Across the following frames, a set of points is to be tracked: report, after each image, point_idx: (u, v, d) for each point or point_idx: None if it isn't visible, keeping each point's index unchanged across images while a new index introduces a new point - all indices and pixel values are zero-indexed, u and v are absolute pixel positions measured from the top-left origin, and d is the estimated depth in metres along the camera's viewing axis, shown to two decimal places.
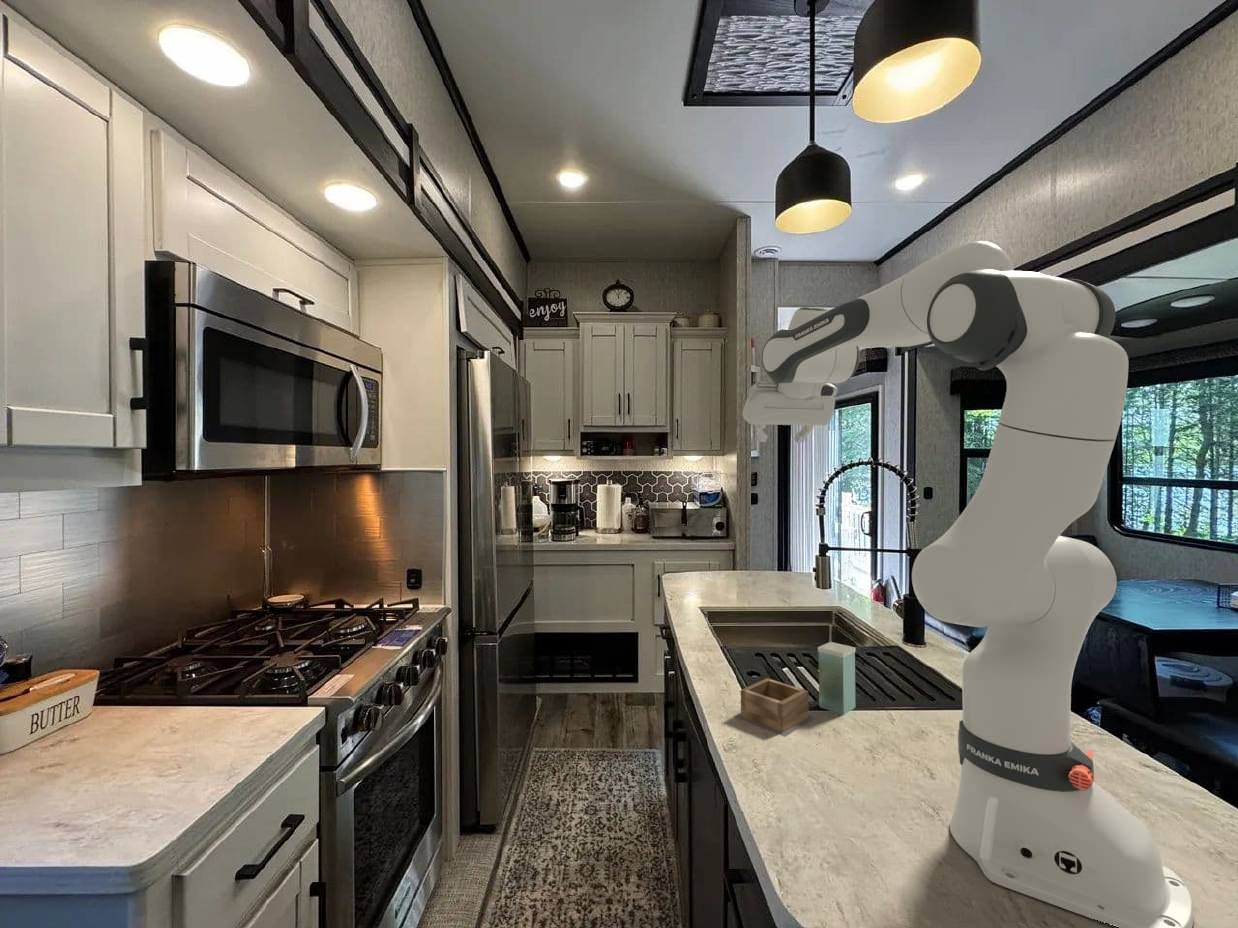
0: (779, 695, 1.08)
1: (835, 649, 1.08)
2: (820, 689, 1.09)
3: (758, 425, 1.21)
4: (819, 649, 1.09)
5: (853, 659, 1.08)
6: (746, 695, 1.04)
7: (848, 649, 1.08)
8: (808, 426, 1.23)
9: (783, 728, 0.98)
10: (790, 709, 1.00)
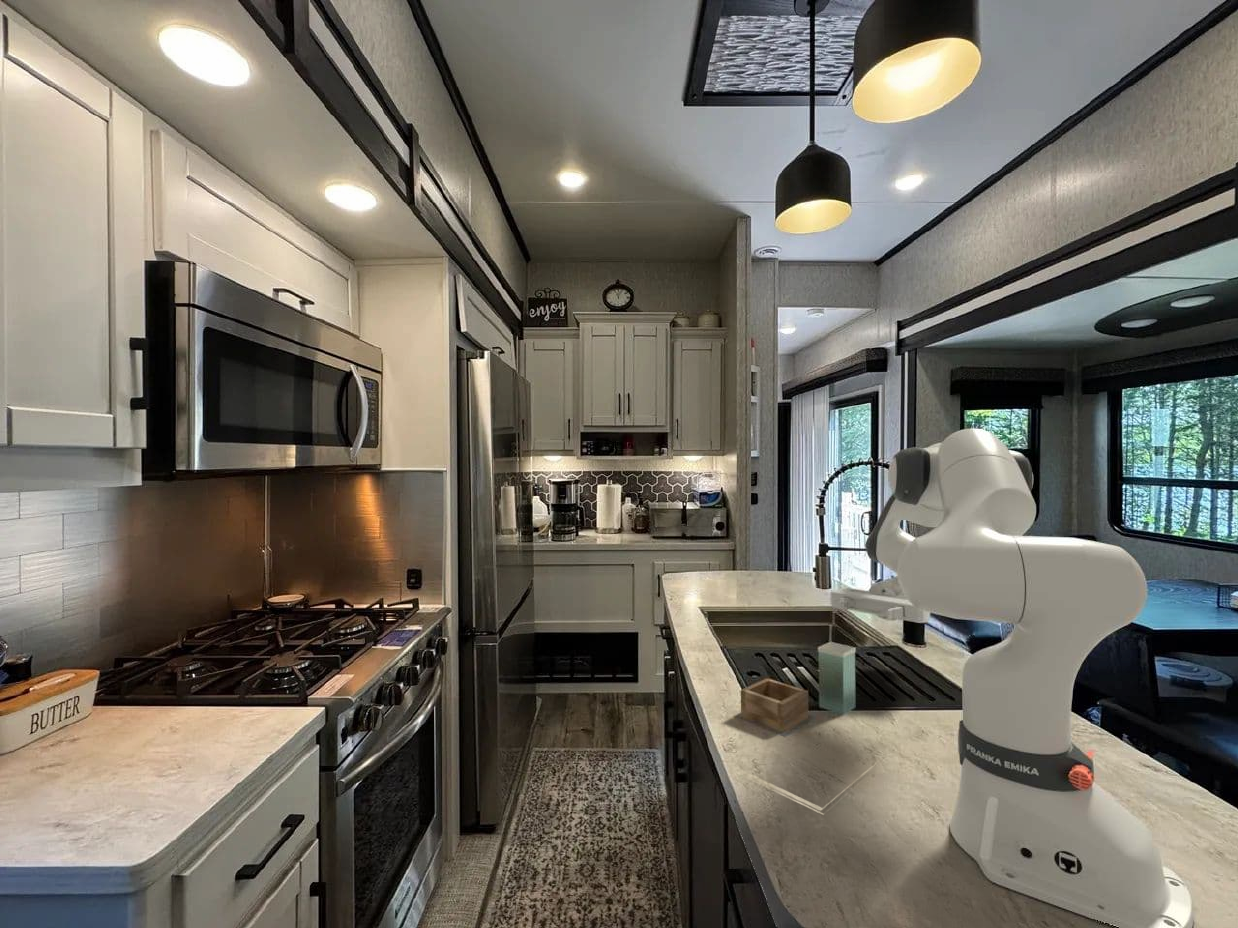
0: (779, 695, 1.08)
1: (835, 649, 1.08)
2: (820, 689, 1.09)
3: None
4: (819, 649, 1.09)
5: (853, 659, 1.08)
6: (746, 695, 1.04)
7: (848, 649, 1.08)
8: (897, 606, 1.16)
9: (783, 728, 0.98)
10: (790, 709, 1.00)
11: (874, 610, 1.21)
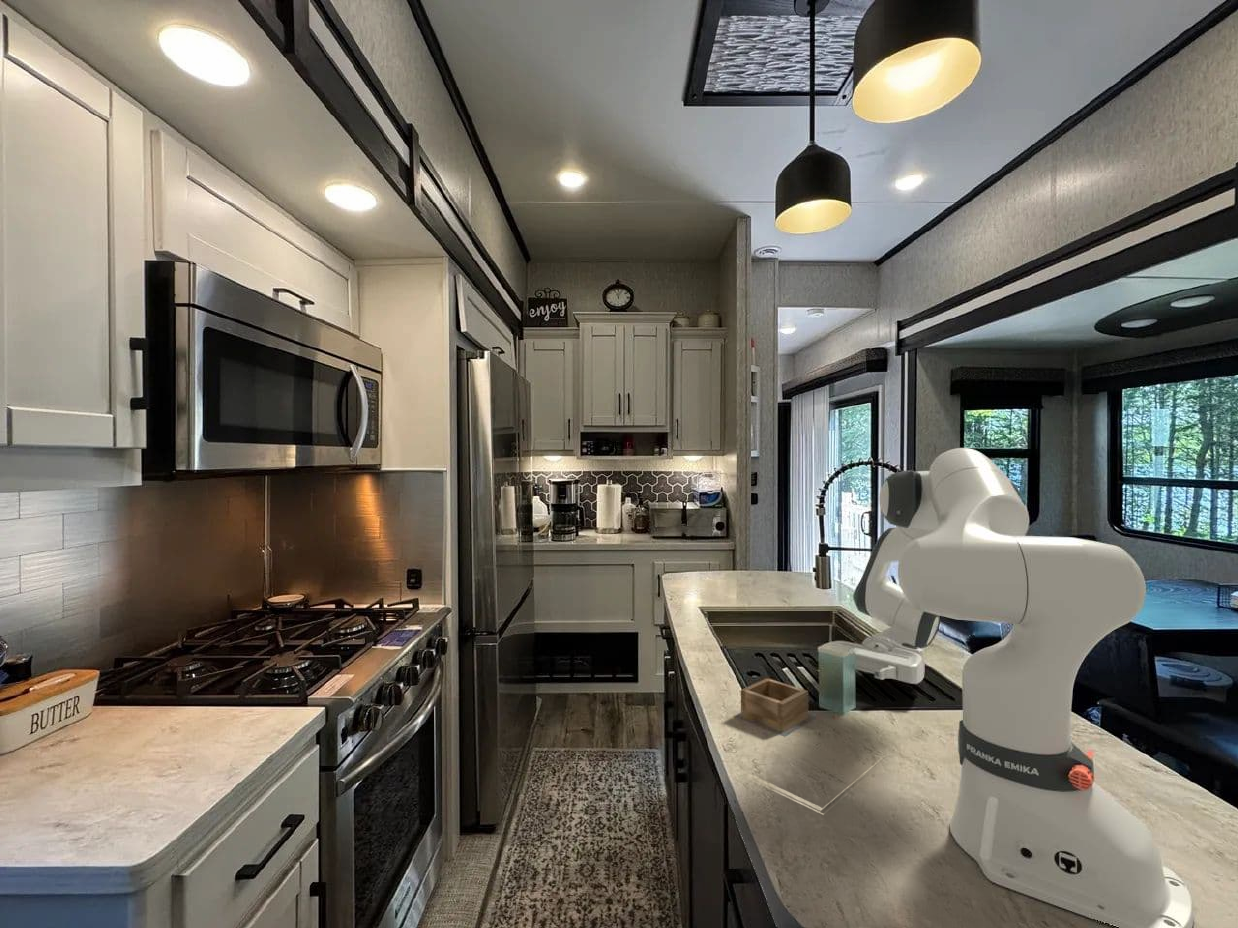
0: (779, 695, 1.08)
1: (835, 649, 1.08)
2: (820, 689, 1.09)
3: None
4: (819, 649, 1.09)
5: (853, 659, 1.08)
6: (746, 695, 1.04)
7: (848, 649, 1.08)
8: (889, 665, 1.12)
9: (783, 728, 0.98)
10: (790, 709, 1.00)
11: (866, 667, 1.17)
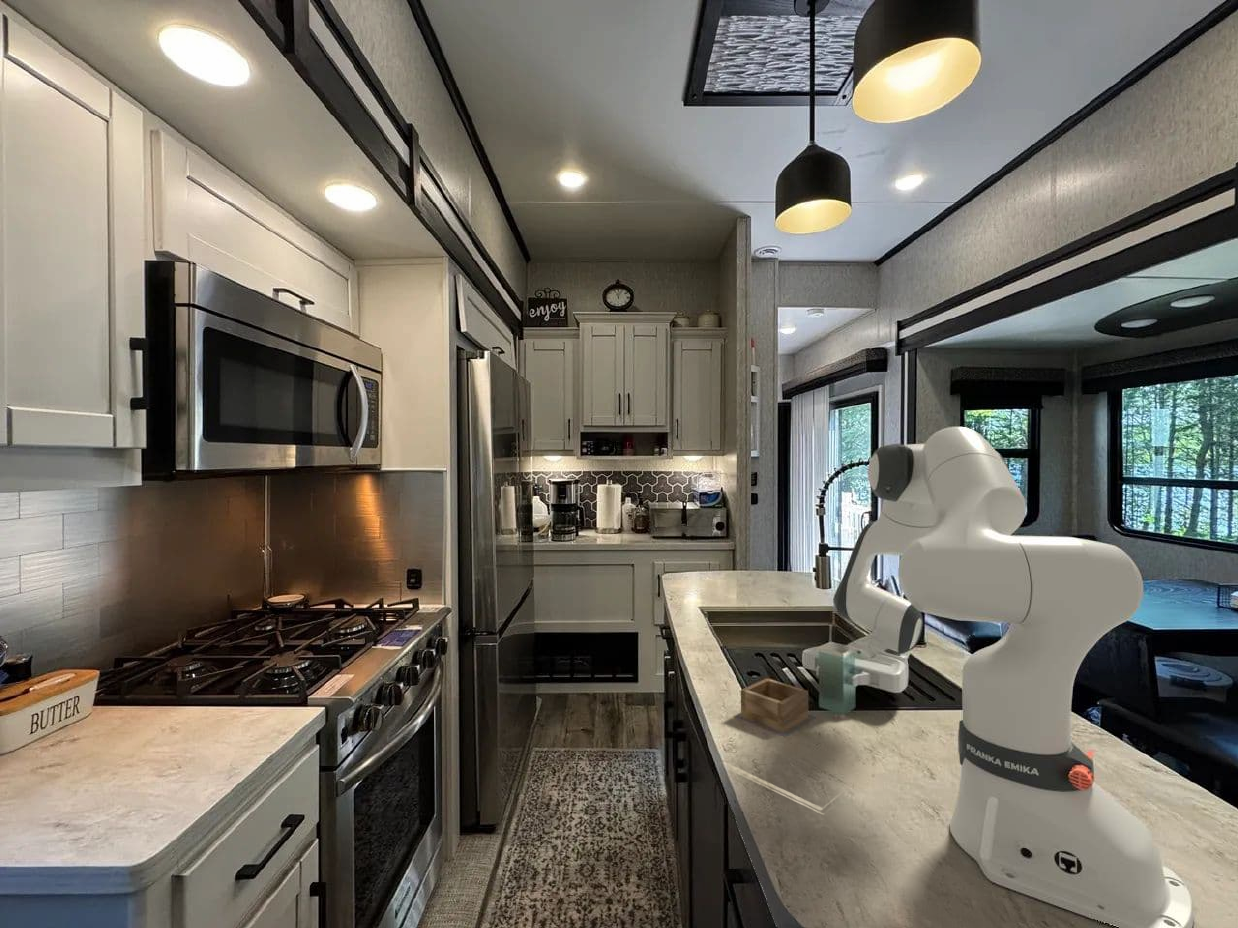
0: (779, 695, 1.08)
1: (835, 649, 1.08)
2: (820, 689, 1.09)
3: None
4: (819, 649, 1.09)
5: (853, 659, 1.08)
6: (746, 695, 1.04)
7: (847, 649, 1.08)
8: (863, 671, 1.08)
9: (783, 728, 0.98)
10: (790, 709, 1.00)
11: None
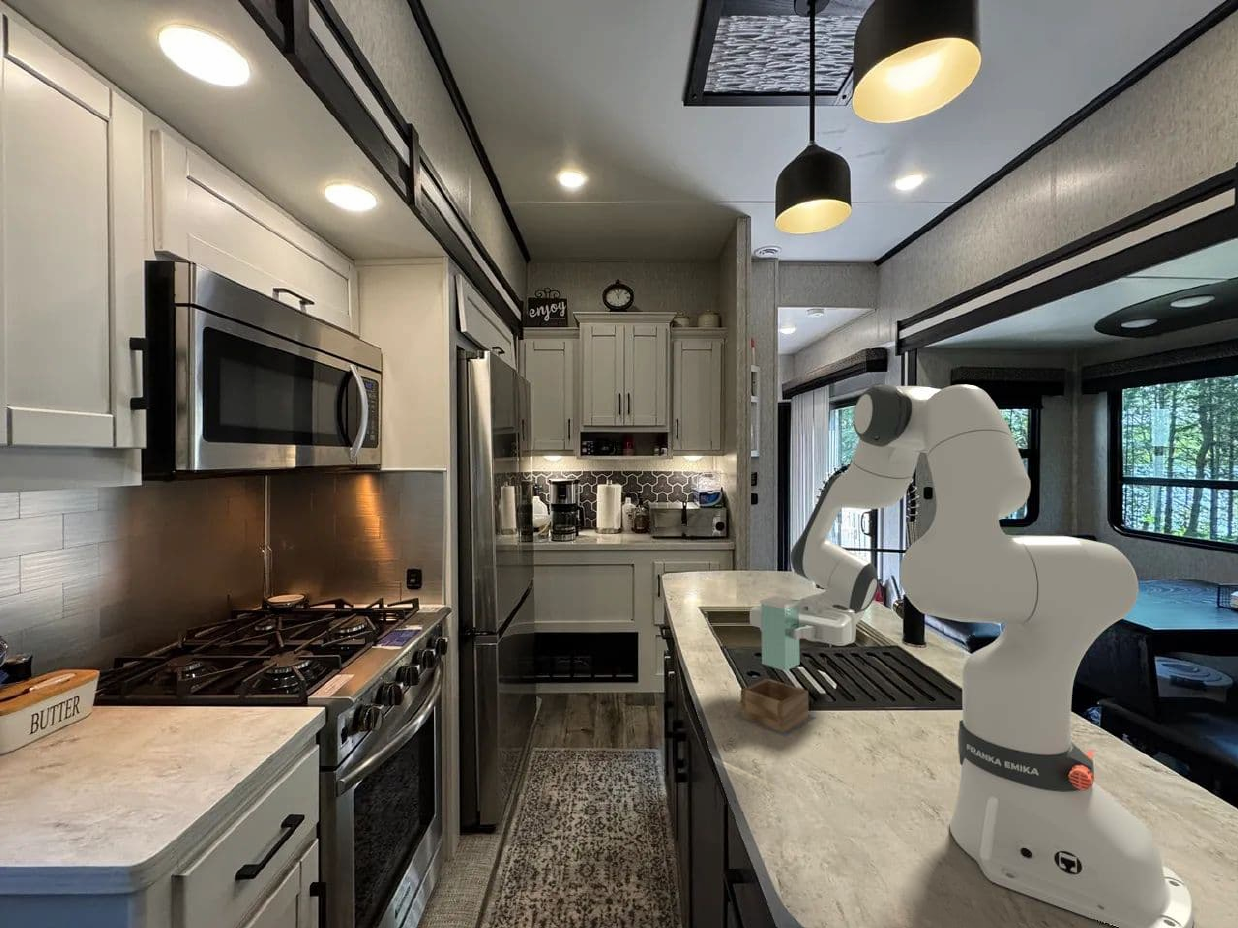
0: (779, 695, 1.08)
1: (778, 601, 1.04)
2: (763, 643, 1.05)
3: None
4: (762, 602, 1.05)
5: (797, 612, 1.05)
6: (746, 695, 1.04)
7: (790, 602, 1.04)
8: (807, 625, 1.04)
9: (783, 728, 0.98)
10: (790, 709, 1.00)
11: None
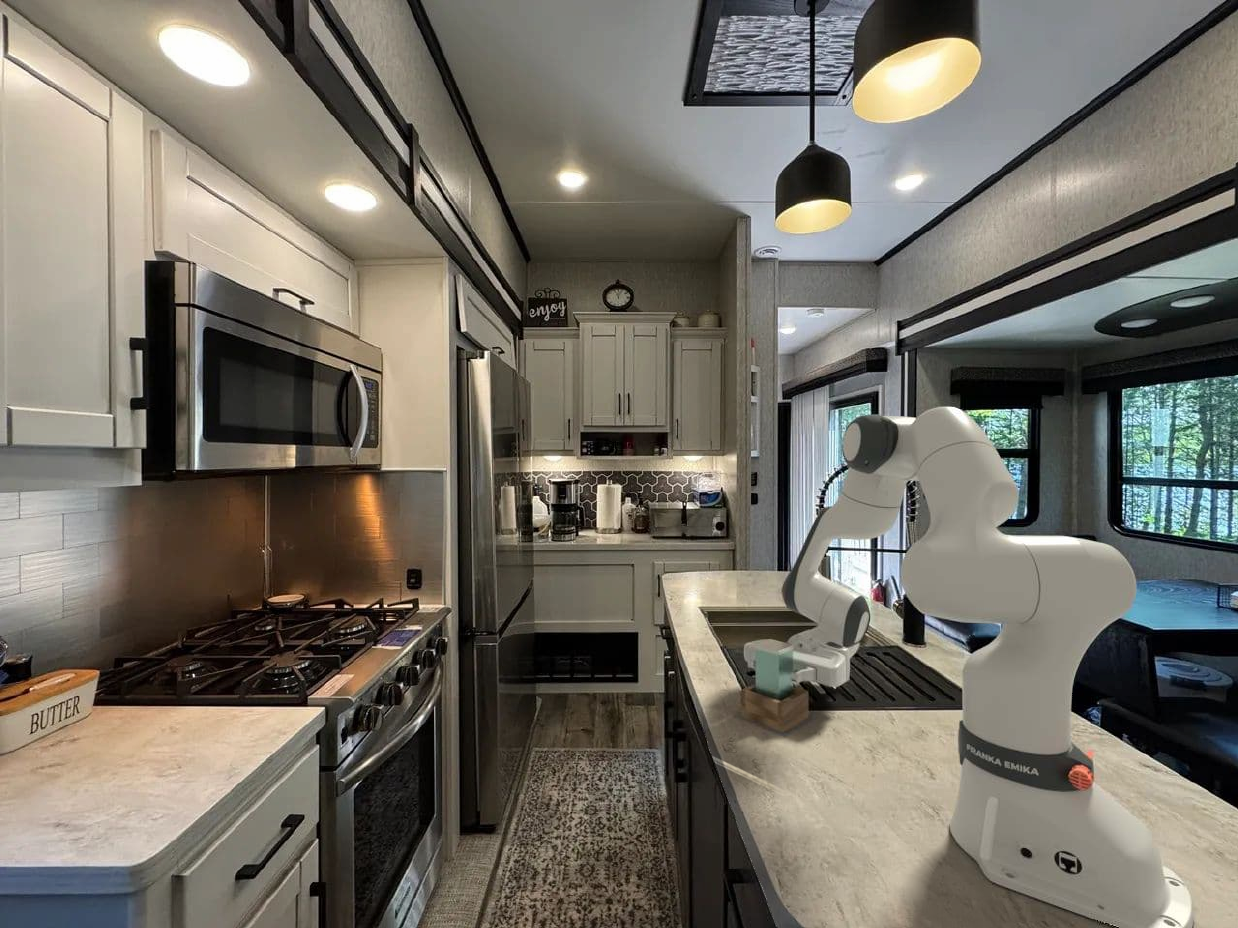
0: None
1: (772, 646, 1.04)
2: (757, 688, 1.05)
3: None
4: (756, 646, 1.05)
5: (791, 657, 1.04)
6: (746, 695, 1.04)
7: (785, 647, 1.03)
8: (809, 667, 1.03)
9: (783, 728, 0.98)
10: (790, 709, 1.00)
11: None
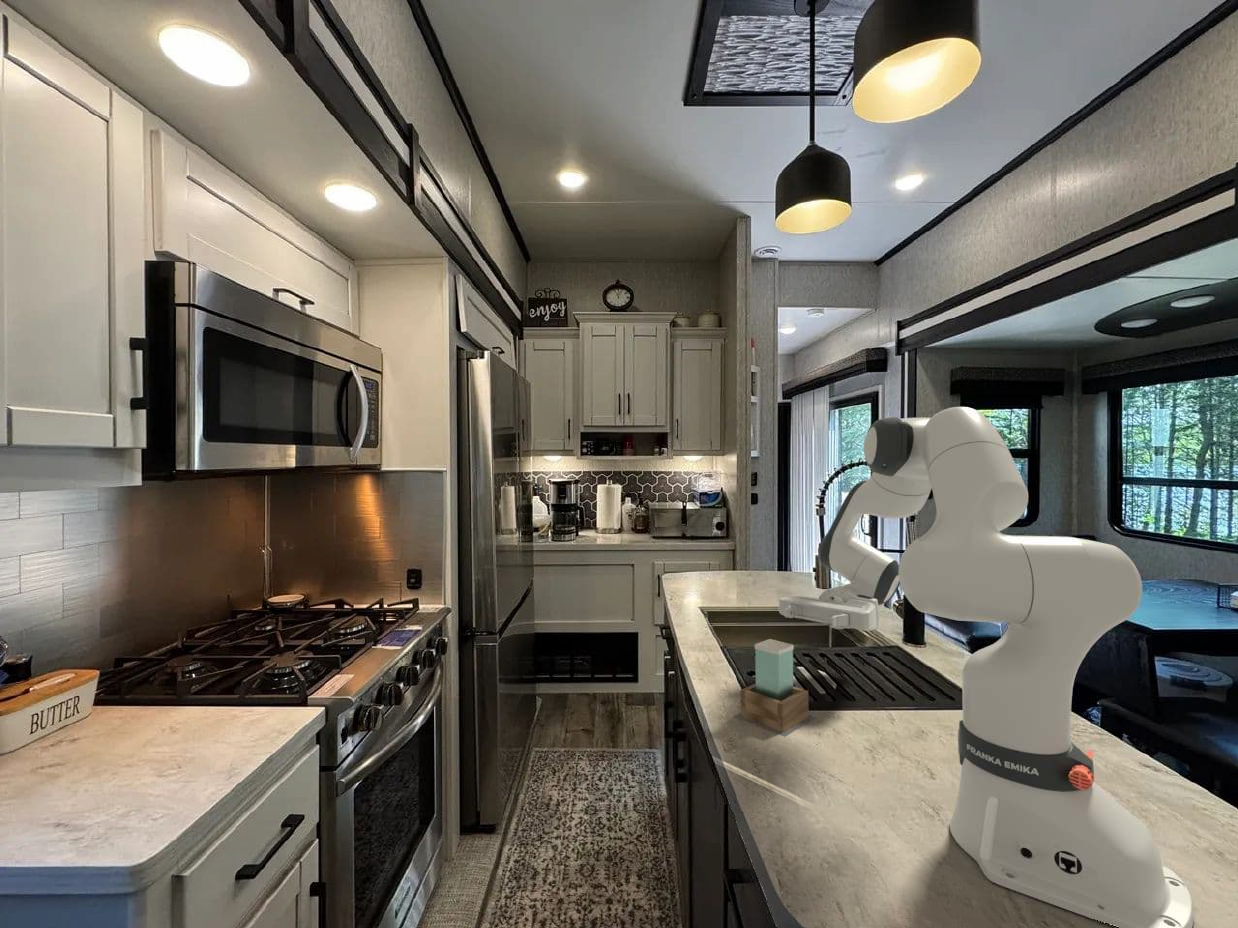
0: None
1: (772, 646, 1.04)
2: (757, 688, 1.05)
3: None
4: (756, 646, 1.05)
5: (791, 657, 1.04)
6: (746, 695, 1.04)
7: (785, 647, 1.03)
8: (842, 613, 1.12)
9: (783, 728, 0.98)
10: (790, 709, 1.00)
11: (821, 618, 1.17)
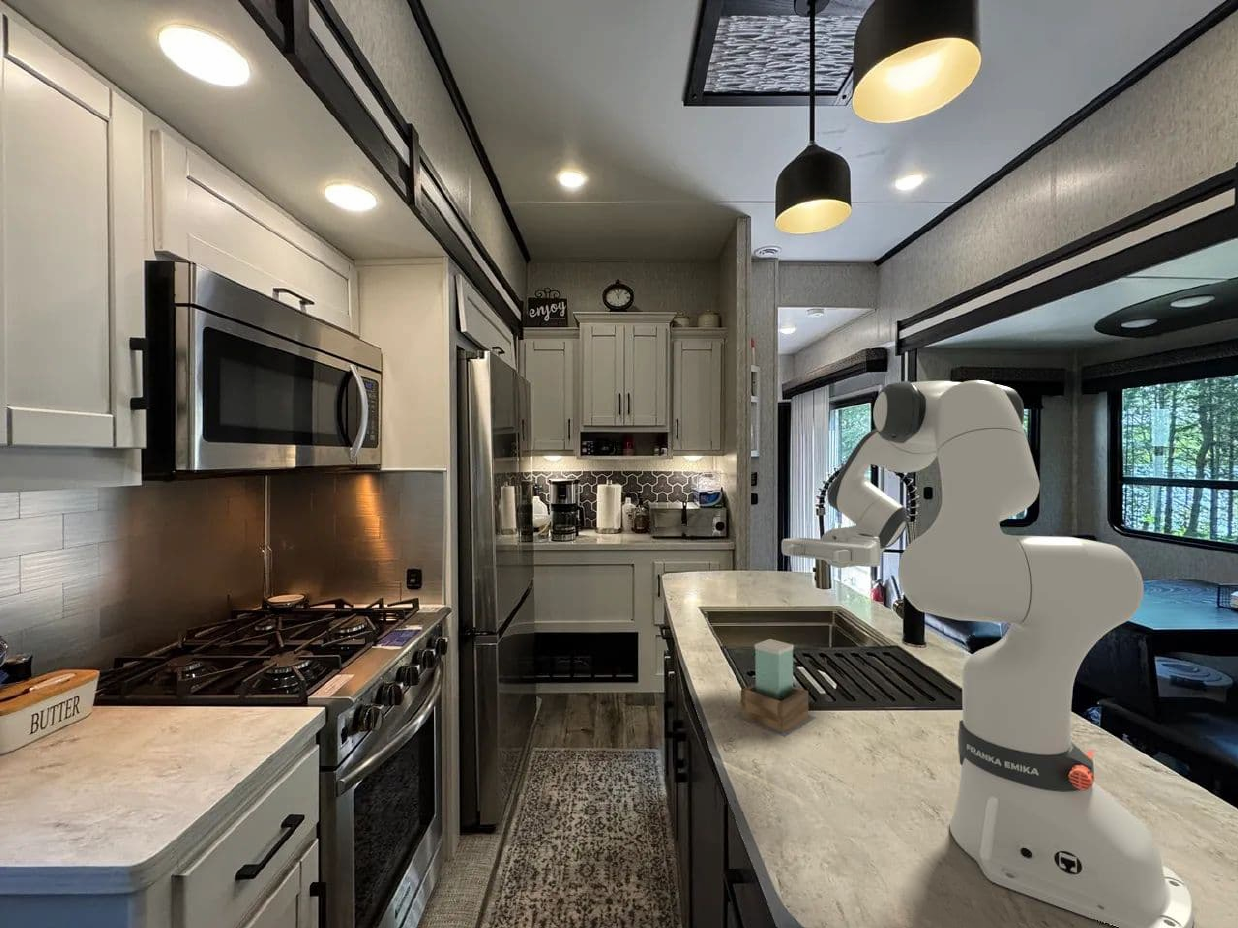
0: None
1: (772, 646, 1.04)
2: (757, 688, 1.05)
3: None
4: (756, 646, 1.05)
5: (791, 657, 1.04)
6: (746, 695, 1.04)
7: (785, 647, 1.03)
8: (844, 549, 1.13)
9: (783, 728, 0.98)
10: (790, 709, 1.00)
11: (823, 555, 1.18)
